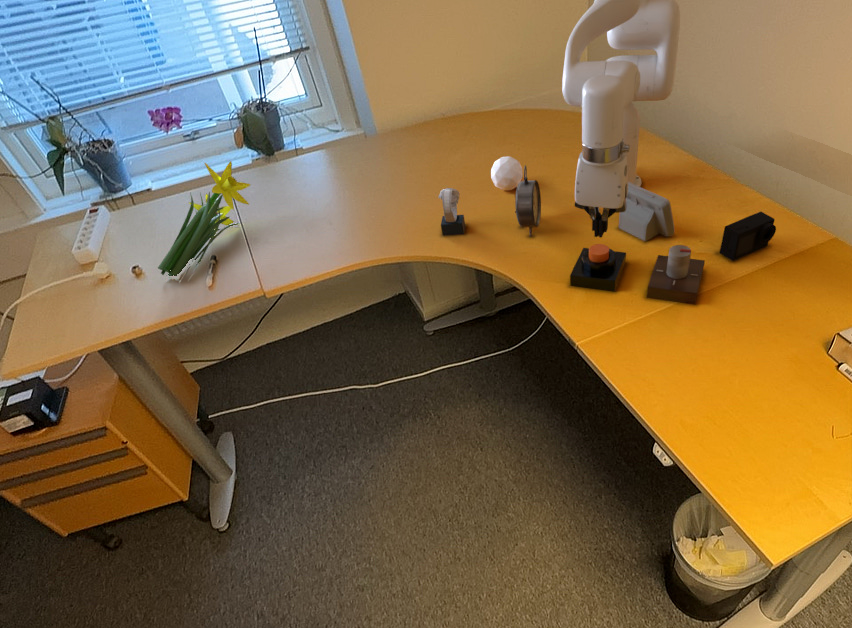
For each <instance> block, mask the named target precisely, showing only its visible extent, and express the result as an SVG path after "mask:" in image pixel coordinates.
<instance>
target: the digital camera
mask: <svg viewBox="0 0 852 628" xmlns="http://www.w3.org/2000/svg"><path fill="white" fill-rule="evenodd" d="M776 231H777V226H776V225H775V218H774V217H772V216H771V215H769V214H767V213H765V212H763V211H758V212H756V213H753V214H751V215H749V216H746V217H744V218H741V219H739V220H736V221H735V222H731V223H730V224H727V225H725V226H724V229H723V233H722V238H721V243H720V248H719V254H720V255H722V256H723V257H725V258H727V259H728V260H730V261H731V262H734V261H737V260H740V259H741V258H744V257H746V256H748V255H751V254H752V253H756V252H757V251H760V250H762V249H765V248H766V247H768V245H769V242H770V241H771V240H772V239H773V238H774V236H775V235H776Z"/></svg>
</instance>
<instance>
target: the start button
mask: <svg viewBox="0 0 852 628" xmlns="http://www.w3.org/2000/svg"><path fill="white" fill-rule="evenodd" d="M588 248H589V260H590V261H592V262H598V263H599V262H605V261H607V260H608V259H609V249H610V247H609V246H608V245H607V244H603V243H596V244H592V245H590V247H588Z"/></svg>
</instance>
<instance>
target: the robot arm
mask: <svg viewBox="0 0 852 628" xmlns="http://www.w3.org/2000/svg"><path fill="white" fill-rule="evenodd" d="M680 26H681V11H680V6H679V3H678V2H677V1H676V0H594V1H593V3H592V5H591V6H590V7H589V8H588V9H587V10H586V11H585V12H584V13H583V14H582V16H581V17H579V20H578V21H577V22H576V24H575V25H574V27H573V29H572V31H571V32H570V35H569V37H568V40H567V42H566V47H565V52H564V60H563V61H564V62H563V69H562V70H563V71H562V81H561V91H562V97H563V100H564V101H565V103H566V104H567V105H569V106H571V107H577V108H579V107H580V108H581V152H580V153H579V155H578V159H577V165H576V173H575V182H574V208H577V209H580V210H584V212H586V213H587V215H588V216H589V218H590V220H591V231H592V232H594V233H593V234H594V235H593V237H594V238H597V237H599V238H603V236H604V234H605V233H607V232H608V227H609V226H608V225H609V218H610V217H612V216H614V214H616V213H617V214H618V213H619V214H620V212H625V211H626V208H627V204H626V199H625V198H627V194H628V182H629V183H632V184H634V185H636V186H639V187H641V188H642V179H641V177H640V176H639V174H637V167H638V157H639V155H638V154H639V140H640V139H639V138H640V128H641V127H640V126H641V116H640V114H639V110H638V109H637V107H636V106H635V104H634V103H633V102H657V101H658V102H659V101H664V100H666V99H668V98H669V97H670V96H671V94H672V92H673V88H674V84H675V77H676V68H677V67H676V66H677V59H678V48H679V39H680ZM604 34H606V38H607V43H608V45H609V46H610V48H612V49H613V50H619V51H641V50H644V51H645V50H653V51H655V52H656V54H642V55H641V54H627V55H615V56H612V57H609V58H607V59H606V60H590V61H589V60H587V61H581V58H582V55H583V54H584V51H585V50H586V48H587V47H588V46H589V45H590V44H591V43H592V42H593V41H595V40H596V39H598V38H599V37H601V36H602V35H604ZM600 208H601V209H602V213H601V212H600Z"/></svg>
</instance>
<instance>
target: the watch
mask: <svg viewBox="0 0 852 628" xmlns="http://www.w3.org/2000/svg"><path fill="white" fill-rule="evenodd" d="M438 199H440V200H441V201H442V209H443V215H442V217H441V220H440V227H441V228H440V229H441V233H442V236H443V237H444V236H459V235H460V236H461V235H465V230H466V221H465V220H466V219H465V214H458V205H459V199H460V191H459V190H458V189H456V188H452V187H445V188H443V189H441V190H440V192H439V194H438Z"/></svg>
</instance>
